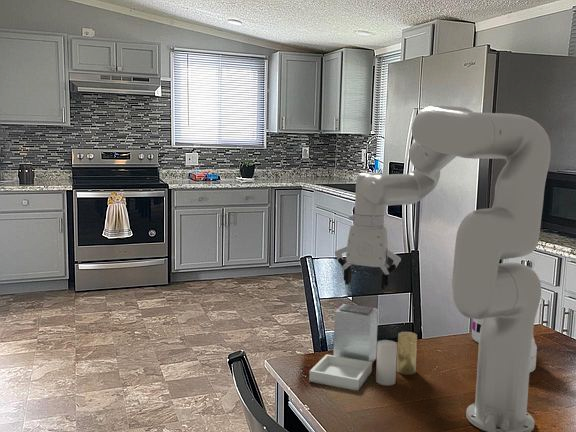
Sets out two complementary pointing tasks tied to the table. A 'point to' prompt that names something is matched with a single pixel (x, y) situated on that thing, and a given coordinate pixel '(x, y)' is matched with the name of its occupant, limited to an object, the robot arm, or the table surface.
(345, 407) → the table surface
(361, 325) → the grey box
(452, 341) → the table surface
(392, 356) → the cylinder
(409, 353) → the cylinder
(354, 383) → the tray
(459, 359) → the table surface
